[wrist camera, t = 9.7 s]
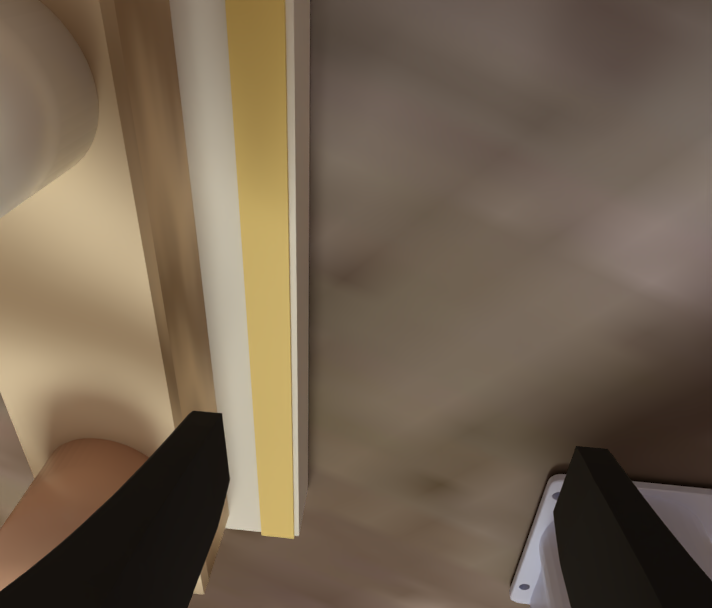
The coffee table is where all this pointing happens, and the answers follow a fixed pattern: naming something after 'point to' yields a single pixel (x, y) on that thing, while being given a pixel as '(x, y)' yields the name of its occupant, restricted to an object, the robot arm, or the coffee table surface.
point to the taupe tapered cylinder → (40, 101)
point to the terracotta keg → (63, 500)
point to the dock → (253, 238)
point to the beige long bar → (110, 261)
